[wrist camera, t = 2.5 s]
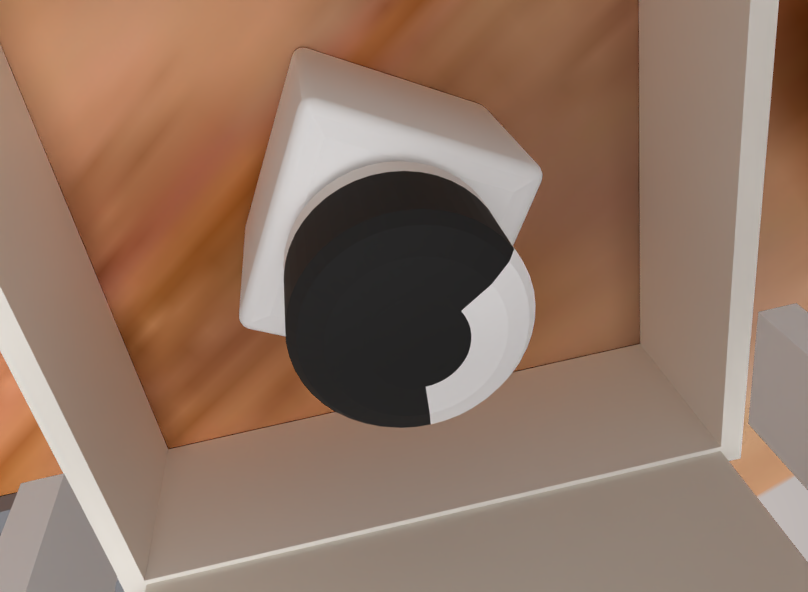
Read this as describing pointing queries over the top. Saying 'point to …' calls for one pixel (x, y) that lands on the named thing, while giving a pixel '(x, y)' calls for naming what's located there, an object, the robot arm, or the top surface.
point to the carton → (468, 432)
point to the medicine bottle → (389, 244)
